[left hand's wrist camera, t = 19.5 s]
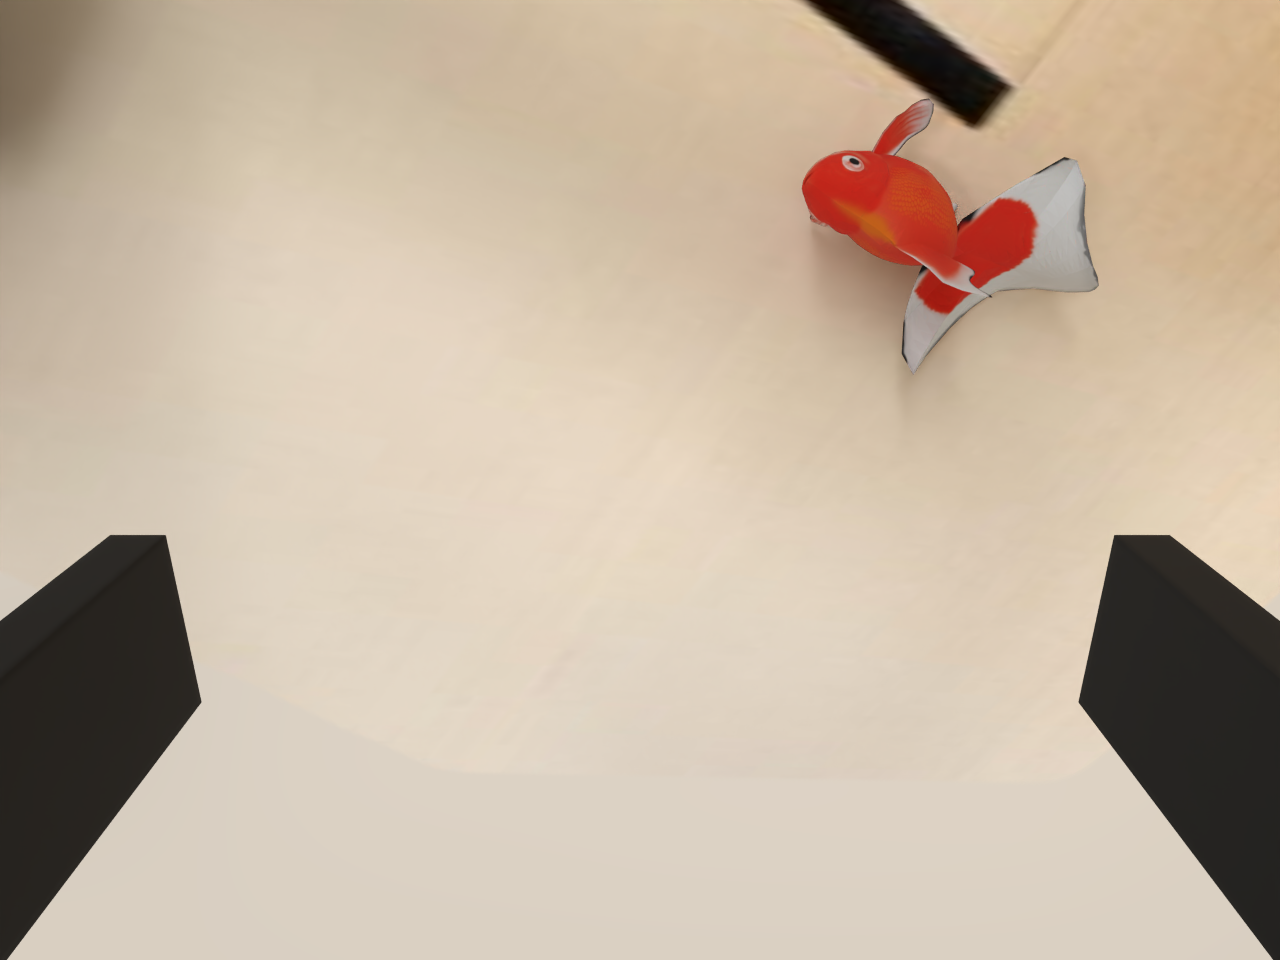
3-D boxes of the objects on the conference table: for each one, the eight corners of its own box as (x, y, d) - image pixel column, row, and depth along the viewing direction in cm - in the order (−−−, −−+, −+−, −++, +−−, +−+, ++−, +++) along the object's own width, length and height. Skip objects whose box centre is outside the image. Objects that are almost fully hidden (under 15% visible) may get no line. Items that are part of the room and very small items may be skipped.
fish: (937, -29, 37) (1025, 105, 31) (1096, 179, 46) (1188, 313, 40) (742, 151, 43) (785, 293, 37) (919, 305, 52) (975, 437, 46)
